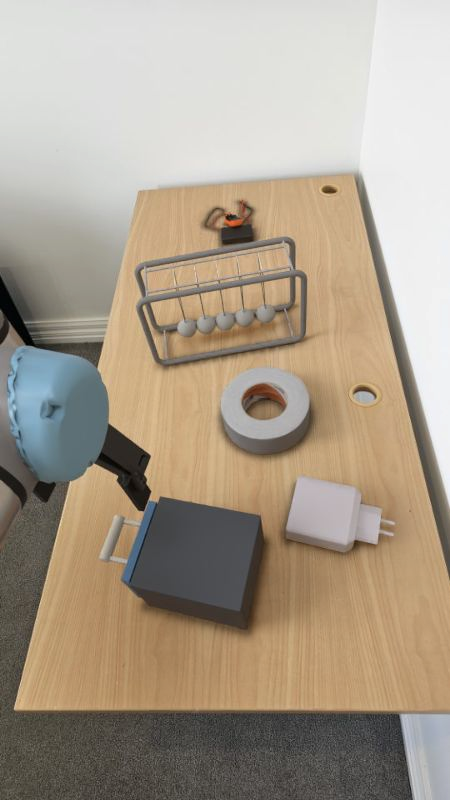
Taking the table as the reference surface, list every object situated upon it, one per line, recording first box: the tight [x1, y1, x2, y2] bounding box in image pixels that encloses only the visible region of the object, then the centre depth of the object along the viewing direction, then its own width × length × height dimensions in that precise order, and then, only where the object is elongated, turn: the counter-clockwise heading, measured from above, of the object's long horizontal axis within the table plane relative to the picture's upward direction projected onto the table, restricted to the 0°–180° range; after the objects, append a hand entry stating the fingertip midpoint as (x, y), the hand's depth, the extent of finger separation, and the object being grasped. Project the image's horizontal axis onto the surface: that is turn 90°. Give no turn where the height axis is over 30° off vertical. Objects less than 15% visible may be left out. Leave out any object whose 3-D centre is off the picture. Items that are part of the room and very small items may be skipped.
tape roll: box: [219, 366, 311, 455], centre depth 87 cm, size 15×15×5 cm
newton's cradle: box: [134, 236, 308, 366], centre depth 94 cm, size 30×10×18 cm, turn 98°
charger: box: [285, 474, 396, 554], centre depth 74 cm, size 5×9×15 cm
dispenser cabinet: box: [130, 496, 266, 631], centre depth 70 cm, size 15×13×11 cm
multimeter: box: [204, 197, 254, 245], centre depth 122 cm, size 18×12×3 cm, turn 178°
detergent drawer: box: [98, 500, 158, 599], centre depth 71 cm, size 18×11×9 cm, turn 76°
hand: (95, 497), depth 61 cm, fingers open, 13 cm apart
